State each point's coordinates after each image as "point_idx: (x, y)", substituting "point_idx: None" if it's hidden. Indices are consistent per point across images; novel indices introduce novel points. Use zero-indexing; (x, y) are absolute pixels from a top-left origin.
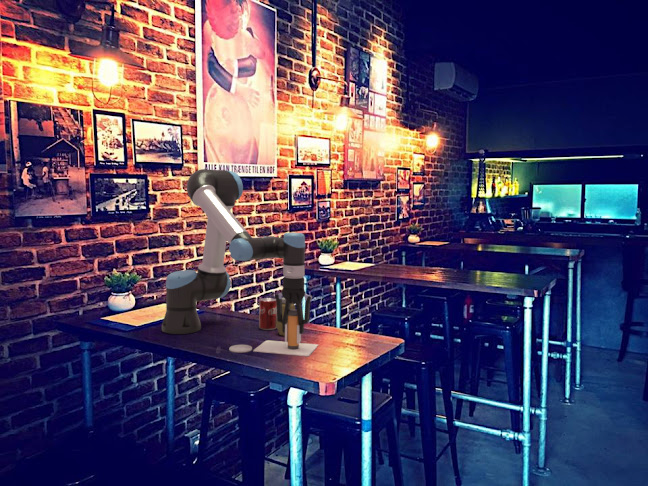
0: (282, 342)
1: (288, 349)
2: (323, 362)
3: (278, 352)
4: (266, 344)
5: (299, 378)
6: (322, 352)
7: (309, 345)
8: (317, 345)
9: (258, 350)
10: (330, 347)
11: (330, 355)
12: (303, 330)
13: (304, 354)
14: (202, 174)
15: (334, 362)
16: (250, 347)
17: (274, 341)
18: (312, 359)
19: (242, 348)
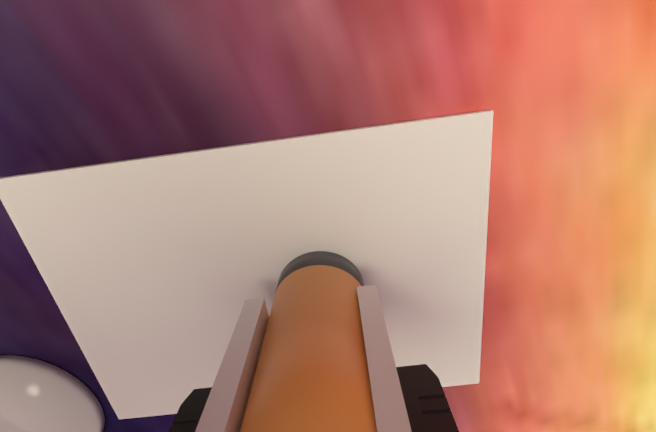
0: (159, 189)
1: None
2: (581, 426)
3: None
4: (91, 290)
5: None
6: (552, 272)
7: (419, 175)
8: (490, 145)
9: (147, 411)
10: (609, 115)
11: (617, 310)
12: (443, 399)
13: (448, 379)
14: None
15: (645, 407)
16: (65, 395)
17: (79, 188)
18: (510, 408)
19: (43, 425)
